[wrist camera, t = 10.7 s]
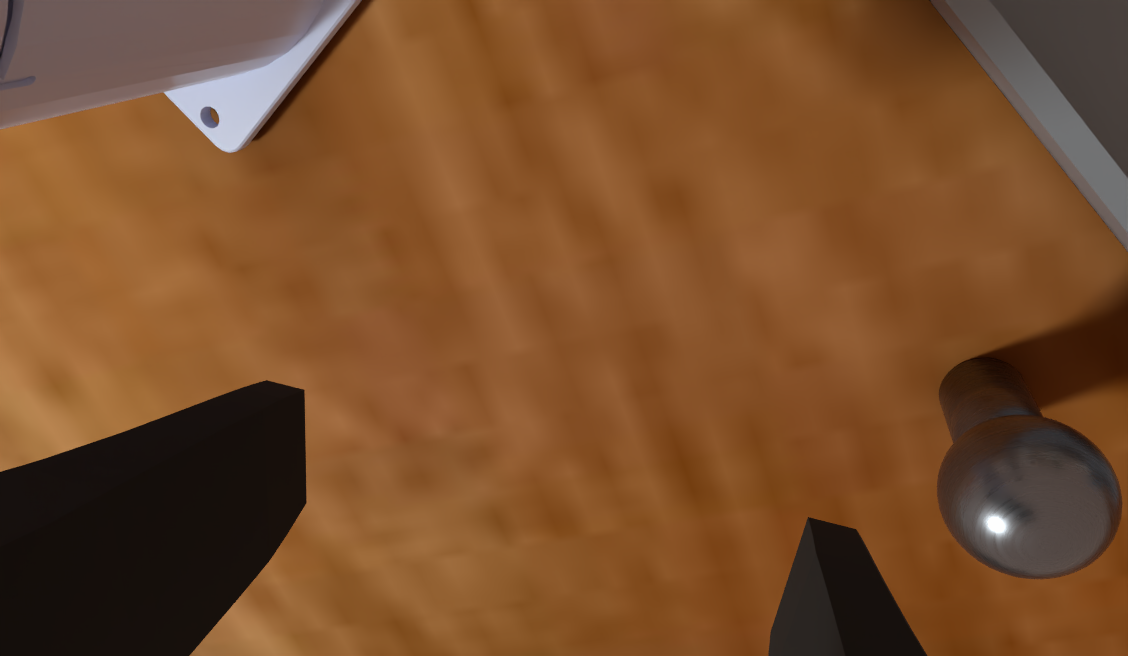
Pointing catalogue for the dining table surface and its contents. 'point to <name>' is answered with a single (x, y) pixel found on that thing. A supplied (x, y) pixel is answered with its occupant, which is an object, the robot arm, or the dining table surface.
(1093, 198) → the bin
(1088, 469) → the ball stud
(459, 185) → the dining table surface
